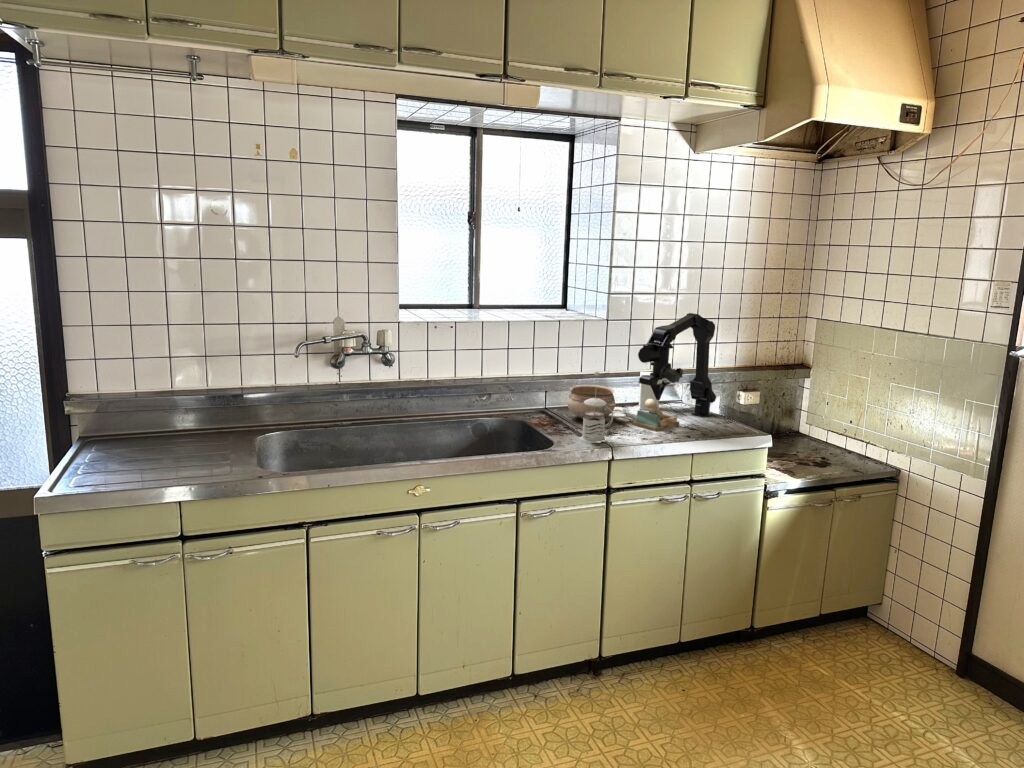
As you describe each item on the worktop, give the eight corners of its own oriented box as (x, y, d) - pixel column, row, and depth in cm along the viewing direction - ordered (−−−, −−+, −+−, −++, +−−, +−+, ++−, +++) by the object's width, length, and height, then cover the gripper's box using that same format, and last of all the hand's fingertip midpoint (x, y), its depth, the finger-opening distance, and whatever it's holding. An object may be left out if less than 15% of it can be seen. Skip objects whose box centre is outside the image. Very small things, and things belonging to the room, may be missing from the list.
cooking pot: (551, 416, 287) (552, 386, 284) (584, 409, 299) (586, 381, 296) (596, 430, 268) (598, 398, 266) (629, 422, 280) (631, 392, 277)
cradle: (656, 418, 287) (657, 405, 286) (679, 424, 279) (680, 410, 278) (632, 424, 277) (633, 410, 276) (655, 431, 269) (656, 416, 268)
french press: (577, 435, 260) (580, 368, 255) (608, 436, 261) (612, 369, 256) (581, 443, 251) (585, 374, 245) (614, 443, 251) (618, 374, 246)
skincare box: (657, 407, 307) (660, 371, 303) (658, 411, 300) (661, 374, 297) (637, 406, 308) (640, 370, 304) (638, 409, 301) (641, 373, 298)
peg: (657, 412, 281) (647, 397, 275) (665, 414, 278) (656, 399, 272) (652, 420, 280) (642, 406, 273) (660, 422, 277) (651, 408, 270)
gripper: (664, 366, 261) (660, 407, 264) (692, 361, 273) (689, 400, 277) (639, 361, 269) (636, 401, 272) (668, 356, 281) (665, 395, 285)
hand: (657, 399), depth 276 cm, fingers closed
